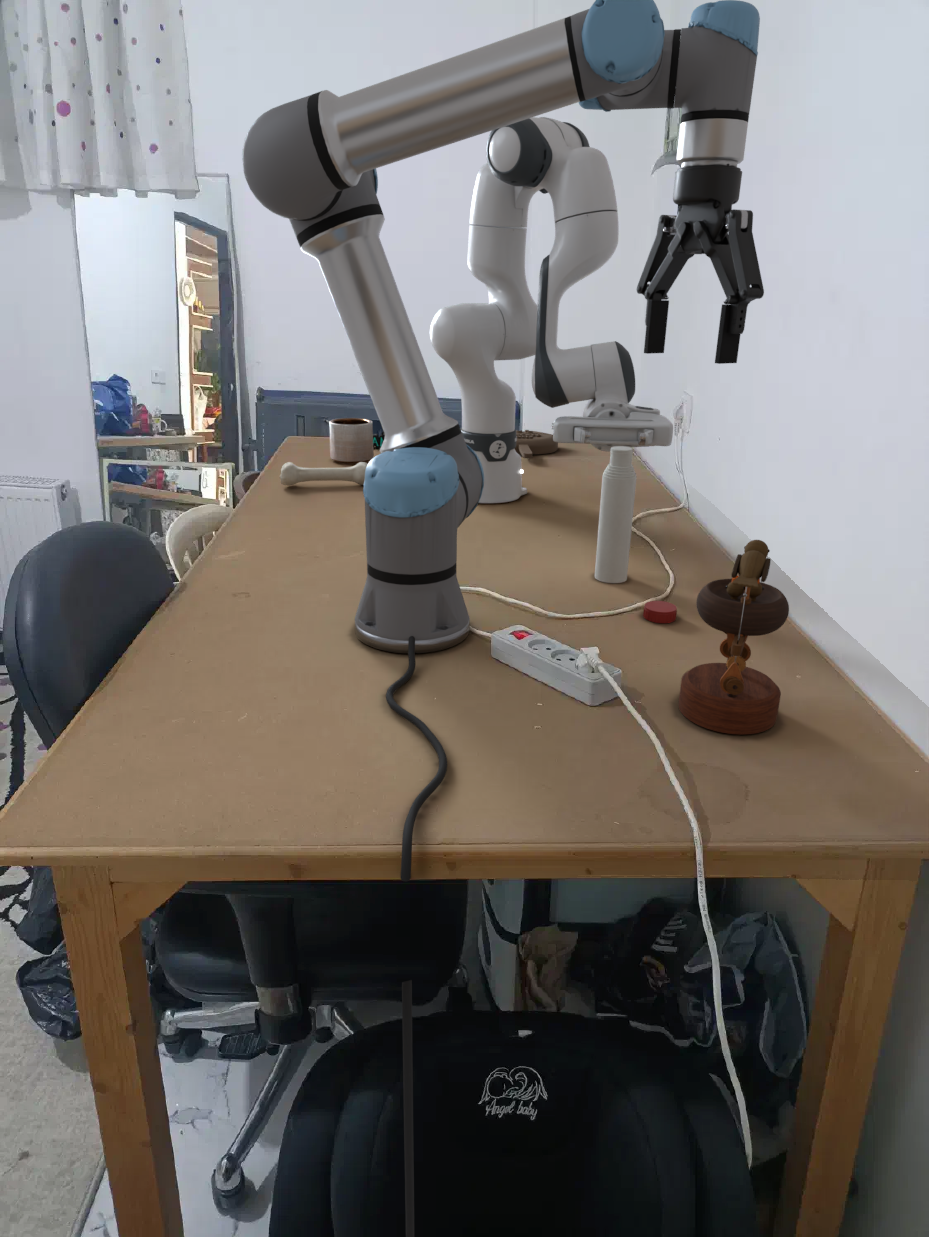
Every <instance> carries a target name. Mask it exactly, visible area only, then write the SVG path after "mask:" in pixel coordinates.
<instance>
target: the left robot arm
mask: <svg viewBox="0 0 929 1237" xmlns="http://www.w3.org/2000/svg"><path fill="white" fill-rule="evenodd" d="M660 14H661V13H660V11H659V8H658V6H657V4H656V2H655V1H654V0H595V1H594V2H593V3H592V5H591V6H590V8H588V9H585V10H582V11H579V12H576V13H574V14H572V15H569V16H567V17H563V18H560V19H558V20H555V21H551V22H549V23H546V24H544V25H540V26H538V27H535V28H532V29H530V30H527V31H523V32H520V33H517V34H515V35H512V36H509V37H507V38H503V39H499V40H497V41H495V42H492V43H489V44H486V45H483V46H481V47H478V48H475V49H472V50H469V51H465V52H463V53H461V54H458V55H455V56H452V57H449V58H446V59H443V60H440V61H438V62H435V63H431V64H428V65H426V66H424V67H420V68H418V69H417V68H416V69H414V70H411V71H409V72H406V73H404V74H400V75H398V76H395V77H392V78H389V79H386V80H382V81H380V82H378V83H375V84H372V85H368V86H366V87H363V88H360V89H358V90H357V89H356V90H354V91H352V92H348V93H346V94H343V95H341V96H339V95H337V94H335V93H333V92H332V91H331V90H328V89H324V90H321V91H318V92H315V93H312V94H310V95H307V96H304V97H300V98H297V99H295V100H292V101H288V102H286V103H283V104H280V105H277V106H275V107H272V108H270V109H269V110H267V111H265V112H263V113H261V115H259V116H258V117H257V119H256V120H255V121H254V122H253V123H252V125H251V126H250V127H249V129H248V131H247V133H246V136H245V138H244V142H243V147H242V152H241V161H242V162H241V163H242V171H243V174H244V178H245V181H246V182H247V185H248V187H249V190H250V192H251V193H252V194H253V196H254V197H255V199H256V200H257V201H258V202H259V203H260V204H261V205H262V206H263V207H264V208H265V209H267V210H268V211H270V212H271V213H272V214H274V215H277V216H279V217H281V218H284V219H287V220H289V222H290V225H291V228H292V231H293V233H294V235H295V239H296V241H297V243H298V245H299V248H300V250H301V252H302V253H304V254H306V255H308V256H310V257H312V258H314V259H315V260H316V261H317V262H318V264H319V268H320V270H321V272H322V276H323V278H324V280H325V283H326V286H327V288H328V291H329V293H330V296H331V298H332V301H333V303H334V304H333V305H334V306H335V309H336V311H337V314H338V316H339V319H340V321H341V324H342V327H343V330H344V332H345V335H346V337H347V340H348V342H349V345H350V348H351V350H352V352H353V355H354V358H355V360H356V363H357V365H358V368H359V371H360V374H361V375H362V378H363V380H364V384H365V386H366V389H367V391H368V394H369V397H370V399H371V402H372V404H373V407H374V409H375V413H376V415H377V417H378V420H379V422H380V425H381V428H382V431H384V433H385V439H384V441H383V444H382V446H381V448H379V454H377V455H374V457H373V459H372V460H370V461H368V463H367V464H368V465H367V467H366V470H365V481H364V485H363V489H362V494H363V497H364V517H365V518H364V520H365V545H366V546H365V548H366V549H365V550H366V579H365V584H364V586H363V589H362V592H361V596H360V600H359V602H358V606H357V609H356V612H355V615H354V633H355V636H356V638H357V639H358V640H359V641H360V642H362V643H363V644H365V645H367V646H368V647H371V648H374V649H377V650H380V651H384V652H390V653H396V654H397V653H398V654H407V657H408V667H407V670H406V672H405V673H404V674H403V675H402V676H401V677H400V678H398V679H397V680H396V681H395V682H393V683H392V684H391V685H390V686H389V687H388V688H387V691H386V692H385V700H386V702H387V705H388V707H389V708H390V710H392V711H393V712H394V713H396V714H398V715H399V716H400V717H402V718H403V719H405V720H406V721H408V722H409V723H411V724H412V725H414V726H415V727H416V728H417V729H418V730H419V731H420V732H421V733H422V735H423V736H424V737H425V739H426V740H427V741H428V742H429V744H431V746H432V747H433V749H434V750H435V752H436V754H437V758H438V770H437V772H436V773H435V775H434V777H433V778H432V780H430V782H429V783H428V784H427V785H426V786H425V787H424V788H423V789H422V790H421V792H420V793H419V794H417V796H416V797H415V799H414V800H413V802H412V804H411V805H410V807H409V810H408V812H407V814H406V818H405V822H404V824H403V829H402V840H401V858H400V859H401V860H400V881H403V882H409V881H410V880H411V878H412V858H413V857H412V856H413V855H412V853H413V832H414V827H415V822H416V819H417V816H418V813H419V811H420V810H421V808H422V806H423V805H424V803H425V802H426V800H428V798H429V797H430V796H431V795H432V794H433V793H434V792H435V791H436V790H437V789H438V787H439V786H440V785H441V784H442V782H443V781H444V779H445V777H446V774H447V770H448V756H447V753H446V751H445V749H444V747H443V745H442V743H441V741H439V739H438V738H437V737H436V735H435V734H434V733H433V732H432V731H431V729H430V728H429V727H428V725H427V724H426V723H425V722H424V721H423V720H422V719H420V718H419V717H417V716H416V715H414V714H413V713H411V712H410V711H408V710H406V709H405V708H404V707H402V706H401V705H399V704H398V703H397V702H396V701H395V699H394V694H395V692H396V691H397V690H399V689H400V688H401V687H402V686H404V685H405V684H406V683H407V682H408V681H409V680H410V679H411V678H412V676H413V675H414V672H415V669H416V654H425V653H433V652H439V651H443V650H446V649H449V648H452V647H455V646H457V645H458V644H460V643H462V642H463V641H464V640H466V639H467V637H468V636H469V634H470V615H469V612H468V608H467V606H466V601H465V599H464V596H463V593H462V589H461V586H460V583H459V581H458V577H457V561H458V560H457V559H458V558H457V557H458V556H457V554H458V528H459V527H460V526H461V525H462V524H463V523H464V521H465V520H466V519H468V517H471V515H472V514H473V512H474V511H475V510H476V508H478V505H479V504H480V503H479V501H480V498H481V495H482V491H483V487H484V471H483V467H482V464H481V461H480V459H479V457H478V456H477V454H476V453H475V452H474V451H473V450H472V448H470V447H469V446H468V445H467V444H466V443H465V440H464V437H463V435H462V432H461V427H460V424H459V421H458V420H457V419H455V418H453V417H451V416H448V415H446V413H444V412H443V408H442V406H441V404H440V400H439V397H438V395H437V392H436V390H435V387H434V384H433V382H432V379H431V377H430V376H431V375H430V373H429V370H428V368H427V365H426V362H425V359H424V356H423V354H422V351H421V349H420V346H419V343H418V340H417V336H416V334H415V332H414V329H413V326H412V324H411V321H410V318H409V316H408V313H407V309H406V307H405V305H404V301H403V300H402V296H401V293H400V290H399V288H398V286H397V282H396V280H395V277H394V274H393V271H392V268H391V266H390V262H389V260H388V258H387V255H386V252H385V249H384V246H383V243H382V241H381V239H380V233H381V231H382V228H383V226H384V223H385V221H386V218H385V215H384V212H383V209H382V207H381V204H380V201H379V198H378V195H377V194H378V188H379V179H378V178H379V177H378V170H377V169H378V168H381V167H384V166H387V165H391V164H394V163H397V162H400V161H403V160H406V159H409V158H412V157H416V156H419V155H421V154H424V153H427V152H430V151H434V150H437V149H439V148H444V147H446V146H449V145H452V144H455V143H457V142H461V141H464V140H467V139H470V138H473V137H476V136H479V135H482V134H485V133H490V132H491V131H492V130H495V129H498V128H501V127H504V126H507V125H510V124H513V123H516V122H519V121H522V120H525V119H529V118H532V117H538V116H540V115H544V114H547V113H550V112H553V111H556V110H559V109H562V108H565V107H568V106H571V105H574V104H577V103H578V104H579V107H581V108H582V109H584V110H597V111H603V112H605V113H608V112H609V113H610V112H611V111H615V110H616V111H619V110H620V111H621V110H623V111H624V110H645V109H646V110H648V109H669V110H671V109H681V110H680V111H681V116H680V124H679V130H678V141H677V149H676V159H675V161H676V163H677V164H678V165H680V168H677V171H675V172H674V182H673V193H672V202H673V203H674V204H675V205H677V206H678V211H677V214H676V215H675V214H661V215H659V218H658V223H657V229H656V234H655V237H654V240H653V243H652V245H651V248H650V250H649V254H648V256H647V259H646V261H645V263H644V264H645V265H644V267H643V269H642V271H641V274H640V277H639V280H638V283H637V285H636V293H637V294H638V295H643V296H644V299H645V300H646V307H645V317H644V319H645V320H644V323H645V336H644V346H643V347H644V348H643V354H648V355H649V354H650V355H651V354H664V353H665V348H666V347H665V346H666V335H667V327H668V326H667V325H668V316H669V305H670V300H669V299H670V297H669V295H668V293H669V291H670V289H671V288H672V286H673V285H674V283H675V282H676V280H677V278H678V277H679V275H680V273H681V272H682V270H683V269H684V267H685V265H686V264H687V262H688V260H690V259H691V258H693V257H694V256H695V255H705V256H706V257H708V259H710V262H711V264H712V267H713V268H714V269H713V270H714V271H715V273H716V276H717V278H718V281H719V284H720V285H721V287H722V290H723V293H724V295H725V297H726V299H725V300H724V301H723V303H722V304H721V309H720V316H719V323H718V324H719V325H718V332H717V333H718V334H717V342H716V350H715V357H714V364H717V365H718V364H719V365H721V364H722V365H723V364H737V362H738V356H739V355H738V354H739V348H740V341H741V335H743V333H744V331H745V327H746V319H747V312H748V306H749V304H750V303H752V302H753V301H755V300H760V299H762V298H763V297H764V295H765V289H764V285H763V280H762V274H761V270H760V265H759V264H760V263H759V258H758V255H757V254H758V253H757V248H756V244H755V239H754V233H753V222H754V212H753V210H751V209H750V210H749V209H748V210H747V209H735V208H733V205H735V204H737V203H738V201H739V199H740V194H741V185H742V177H743V171H742V169H741V167H738V165H740V164H741V163H742V162H743V161H744V159H745V150H746V142H747V134H748V126H749V118H750V112H751V111H750V110H751V104H752V97H753V96H752V95H753V89H754V81H755V76H756V75H755V74H756V68H757V60H758V55H759V52H758V47H759V35H760V22H761V16H760V13H759V9H758V8H757V7H756V6H755V5H753V3H750V2H747V1H744V0H717V1H714V2H712V1H711V2H706V3H702V4H700V5H698V6H697V7H696V8H694V10H692V12H691V15H690V20H689V23H688V25H687V27H682V28H675V29H665V25H664V24H665V23H664V20H663V18H662V17H661V15H660ZM401 1005H402V1006H401V1018H402V1020H401V1021H402V1025H401V1026H402V1074H403V1075H402V1079H403V1080H402V1082H403V1087H402V1088H403V1089H402V1090H403V1133H404V1134H403V1141H404V1142H403V1144H404V1145H403V1146H404V1148H403V1149H404V1201H405V1202H404V1204H405V1210H404V1211H405V1237H415V1169H414V1167H415V1165H414V1164H415V1163H414V1162H415V1161H414V1158H415V1157H414V1156H415V1155H414V1154H415V1153H414V1079H413V1077H414V1076H413V1074H414V1073H413V1072H414V1070H413V1069H414V1068H413V1065H414V1064H413V981H412V979H410V980H406V981H402V982H401Z"/></svg>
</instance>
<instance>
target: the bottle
mask: <svg viewBox="0 0 929 1237" xmlns="http://www.w3.org/2000/svg"><path fill="white" fill-rule="evenodd" d="M633 448H634V447H625V446H614V447H611V449H610V450H611V451H610V452H609V453H610V455H609V463H607V466H606V468H605V469H604V471H603V473H602V476H601V491H600V502H599V514H598V528H597V540H596V553H595V565H594V566H595V567H594V579H596V580H597V581H599V582H601V583H605V584H621V583H625V582H626V581H627V580H628V572H629V562H630V553H631V552H630V551H631V540H632V530H633V521H634V520H633V518H634V510H635V509H634V508H635V500H636V499H635V497H636V487H637V477H638V476H637V472H636V470H635V467H634V464H633V453H634V449H633Z"/></svg>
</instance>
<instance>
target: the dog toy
mask: <svg viewBox="0 0 929 1237" xmlns="http://www.w3.org/2000/svg"><path fill="white" fill-rule="evenodd" d="M367 465H368V463H367V462H359V463H355V465H353V466H346V467H304V466H303V467H302V466H298V465H296V464H295V463H294V462H291V461H288V462H285V463H283V465H282V466H281V468H280V475H279V479H280V480H279V481H280V484H281V485H282V486H289V487H291V486H294V485H297V484H298V483H304V482H313V481H314V482H316V481H317V482H319V481H320V482H321V481H322V482H323V481H327V482H328V481H330V482H333V481H338V482H339V481H341V482H352V483H355V484H358V485H360V486H364V481H365V470H366V467H367Z"/></svg>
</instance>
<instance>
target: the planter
mask: <svg viewBox="0 0 929 1237" xmlns="http://www.w3.org/2000/svg"><path fill="white" fill-rule="evenodd" d="M328 426H329V453H330V454H329V455H330V456H329V457H330V459H331V460H332V461H333V462H335V463H341V464H358V463H359V462H365V463H367V462H368V463H369V462H370V461H371V460H372V459H373V458H374V457H375V455H374V452H375V451H374V450H375V449H374V448H373V435H374V430H373V429H374V428H373V420H371V419H369V418H362V417H361V418H360V417H342V418H341V417H340V418H335V419H334V418H333V419H331V420H329V424H328Z"/></svg>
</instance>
